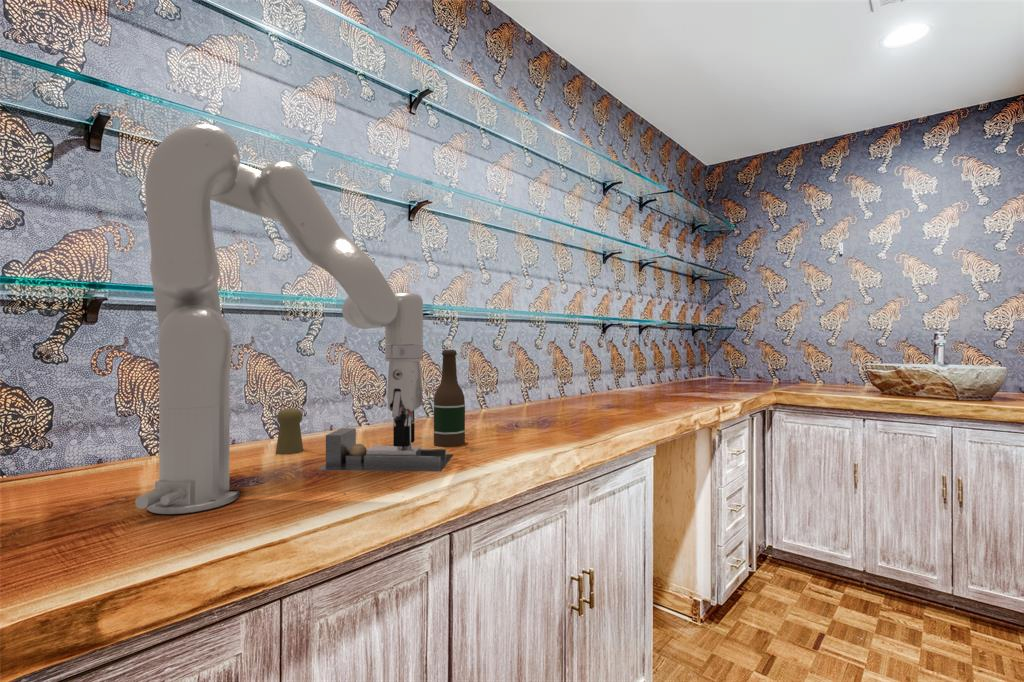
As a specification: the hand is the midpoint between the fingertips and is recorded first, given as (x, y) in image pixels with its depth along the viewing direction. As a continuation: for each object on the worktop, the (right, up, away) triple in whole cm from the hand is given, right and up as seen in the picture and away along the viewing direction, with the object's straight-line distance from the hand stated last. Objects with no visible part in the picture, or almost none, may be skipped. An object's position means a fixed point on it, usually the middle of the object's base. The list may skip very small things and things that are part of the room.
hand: (404, 443), depth 99 cm
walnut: (-10, -4, +1) cm, 10 cm away
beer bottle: (+7, -5, +18) cm, 20 cm away
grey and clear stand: (-2, -3, 0) cm, 4 cm away
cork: (-28, -5, +9) cm, 30 cm away
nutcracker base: (-3, -5, 0) cm, 6 cm away
